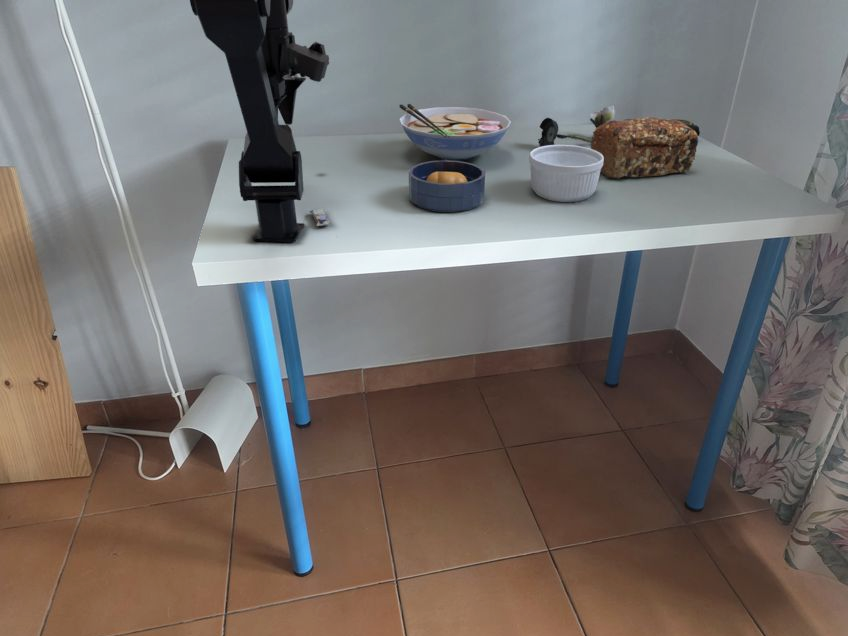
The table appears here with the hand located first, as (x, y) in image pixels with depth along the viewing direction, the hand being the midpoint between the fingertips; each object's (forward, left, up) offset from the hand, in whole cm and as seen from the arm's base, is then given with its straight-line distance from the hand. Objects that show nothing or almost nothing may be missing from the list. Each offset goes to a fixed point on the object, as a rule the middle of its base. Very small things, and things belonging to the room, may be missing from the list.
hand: (281, 131), depth 110 cm
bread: (+25, -65, -12) cm, 71 cm away
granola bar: (-8, -7, -12) cm, 16 cm away
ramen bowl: (+30, -27, -12) cm, 42 cm away
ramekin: (+10, -48, -12) cm, 51 cm away
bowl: (+4, -27, -12) cm, 30 cm away
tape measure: (+49, -79, -12) cm, 93 cm away
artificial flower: (+44, -55, -12) cm, 71 cm away
